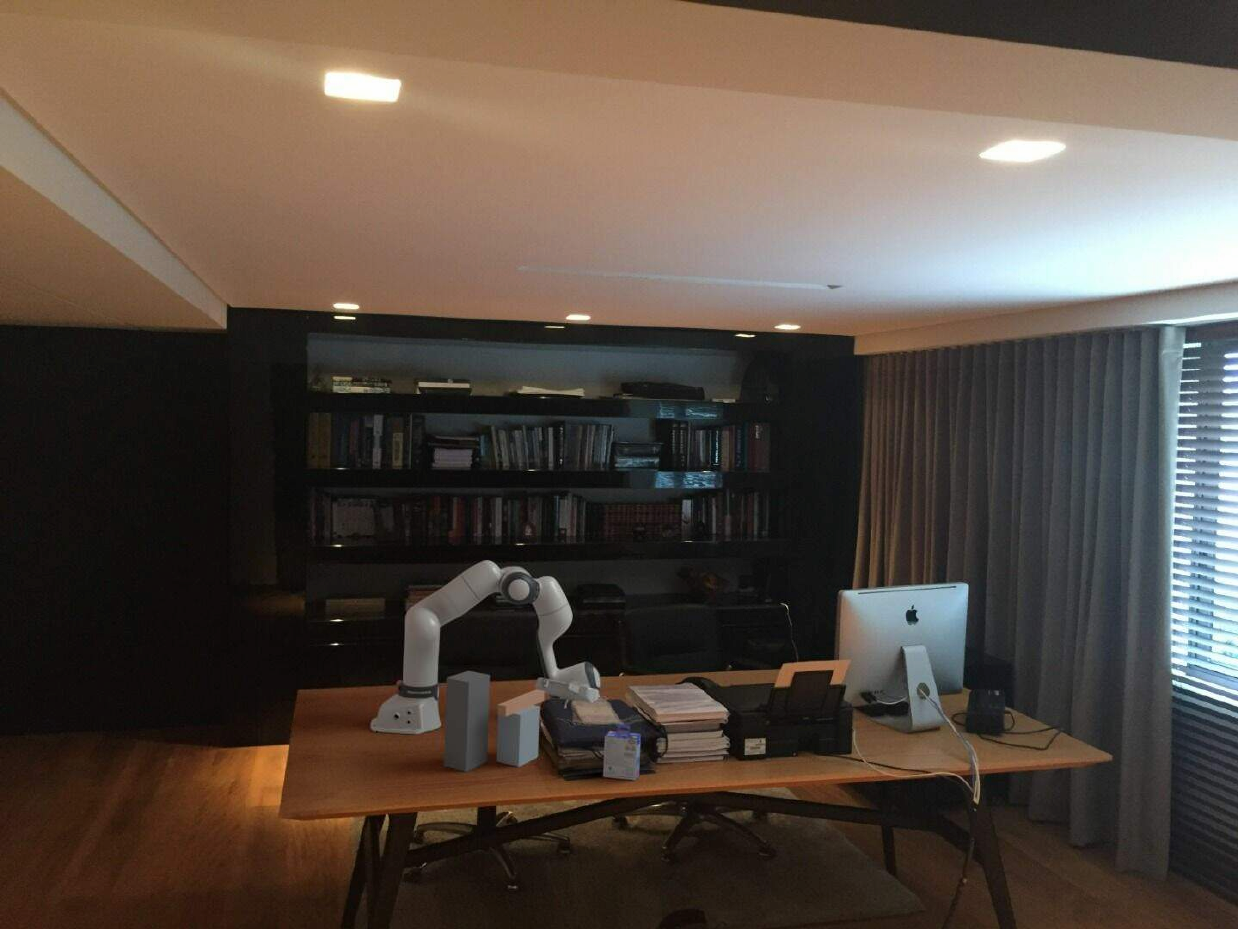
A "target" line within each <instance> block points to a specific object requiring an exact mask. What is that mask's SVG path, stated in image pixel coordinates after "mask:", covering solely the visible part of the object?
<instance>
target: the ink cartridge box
mask: <svg viewBox="0 0 1238 929" xmlns="http://www.w3.org/2000/svg"><path fill="white" fill-rule="evenodd" d="M621 728H625V729H626V730H625V729H624V730H623V729H621ZM616 729H617V730H616V731H611V730H609V731H607V733H606V735H604V744H603V745H604V746H603V747H604V748H603V751H604V752H603V770H602V771H603V772H602V777H603V778H613V779H619V780H627V781H628V780H629V781H636V780H637V779H638V777H639V776H640V762H641V761H640V758H641V757H640V756H641V736H642V735H641V733H634V732H630V731H631V725H625V724H618V725H617V728H616Z"/></svg>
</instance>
